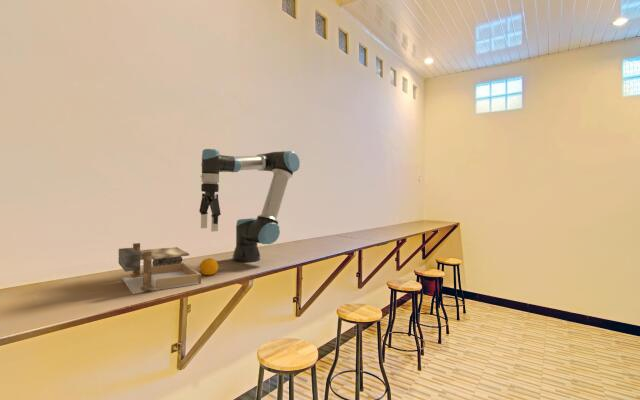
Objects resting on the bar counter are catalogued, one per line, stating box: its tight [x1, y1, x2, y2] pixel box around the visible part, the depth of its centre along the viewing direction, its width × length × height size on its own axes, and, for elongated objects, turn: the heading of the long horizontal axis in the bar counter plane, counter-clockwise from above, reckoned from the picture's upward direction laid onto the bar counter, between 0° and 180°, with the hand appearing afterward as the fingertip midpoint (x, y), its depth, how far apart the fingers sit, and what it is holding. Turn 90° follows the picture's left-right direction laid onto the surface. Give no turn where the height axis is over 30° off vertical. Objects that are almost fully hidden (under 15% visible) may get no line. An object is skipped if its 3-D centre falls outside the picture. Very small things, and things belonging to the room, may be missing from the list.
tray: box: [122, 262, 202, 295], centre depth 141 cm, size 25×24×4 cm
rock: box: [152, 256, 183, 267], centre depth 161 cm, size 16×8×10 cm, turn 142°
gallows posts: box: [129, 242, 154, 293], centre depth 136 cm, size 4×26×15 cm, turn 38°
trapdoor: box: [118, 246, 190, 273], centre depth 138 cm, size 23×19×6 cm
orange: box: [199, 257, 219, 276], centre depth 154 cm, size 8×8×8 cm
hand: (209, 229), depth 153 cm, fingers open, 13 cm apart
